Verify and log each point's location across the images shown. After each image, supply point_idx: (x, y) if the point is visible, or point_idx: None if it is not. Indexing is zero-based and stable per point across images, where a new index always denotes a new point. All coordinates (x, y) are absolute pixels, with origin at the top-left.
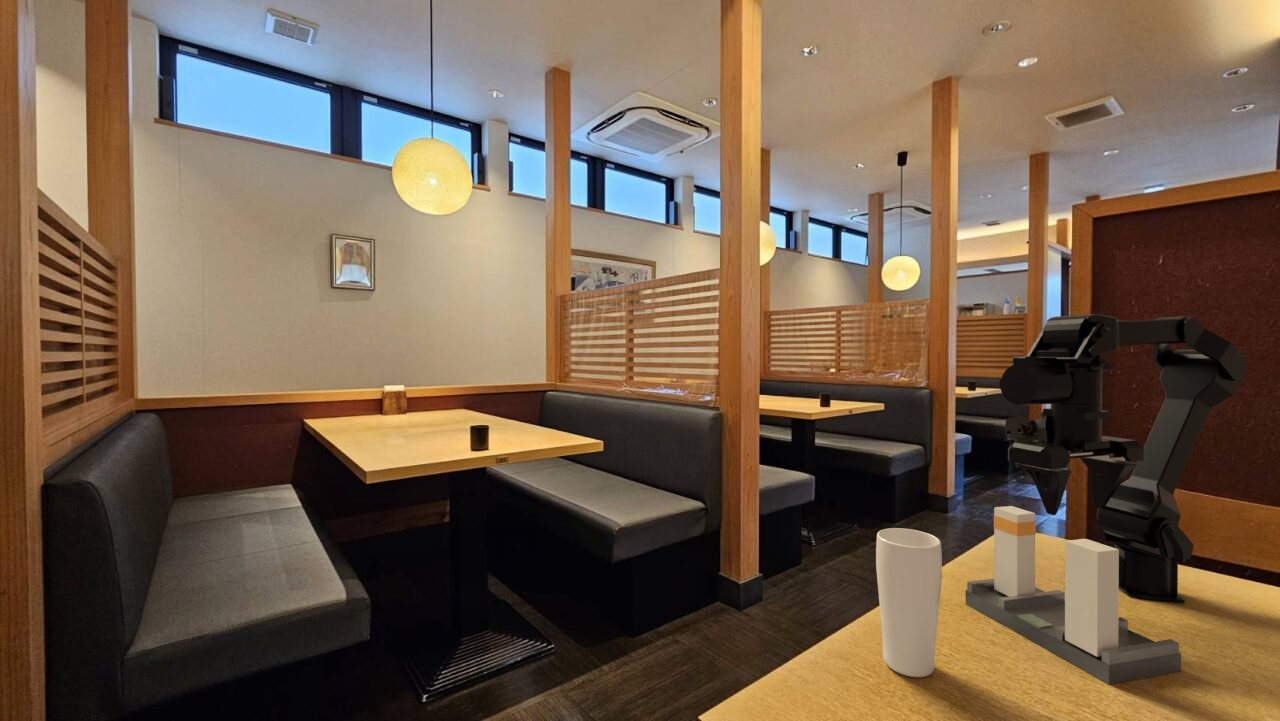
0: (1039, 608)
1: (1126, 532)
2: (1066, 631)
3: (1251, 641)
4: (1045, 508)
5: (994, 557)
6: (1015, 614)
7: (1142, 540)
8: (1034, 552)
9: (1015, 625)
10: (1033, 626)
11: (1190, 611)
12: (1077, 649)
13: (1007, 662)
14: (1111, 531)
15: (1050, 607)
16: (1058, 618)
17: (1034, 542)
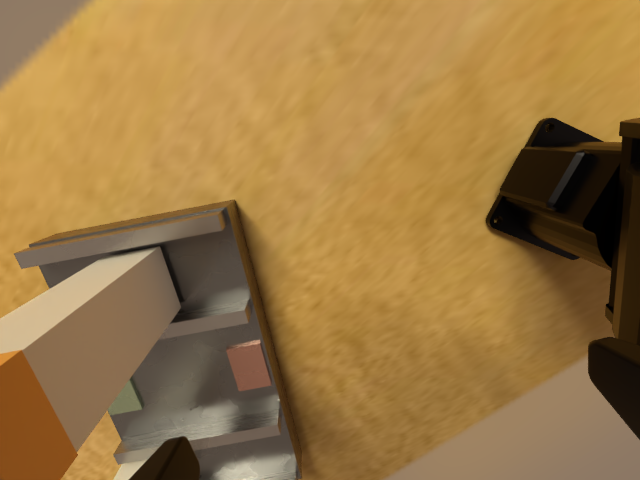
0: (166, 341)
1: (625, 284)
2: (119, 473)
3: (511, 384)
4: (143, 469)
5: (35, 298)
6: None
7: (615, 322)
8: (117, 392)
9: None
10: None
11: (540, 286)
12: None
13: None
14: (624, 211)
15: (194, 338)
16: (178, 380)
17: (95, 422)
